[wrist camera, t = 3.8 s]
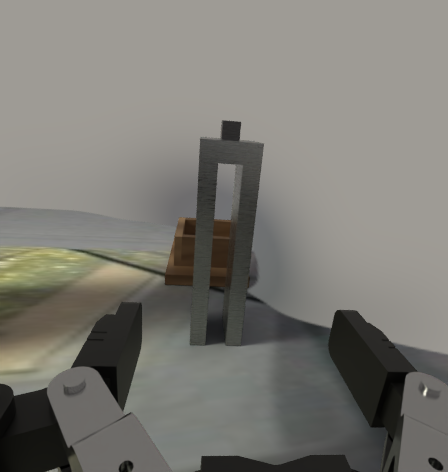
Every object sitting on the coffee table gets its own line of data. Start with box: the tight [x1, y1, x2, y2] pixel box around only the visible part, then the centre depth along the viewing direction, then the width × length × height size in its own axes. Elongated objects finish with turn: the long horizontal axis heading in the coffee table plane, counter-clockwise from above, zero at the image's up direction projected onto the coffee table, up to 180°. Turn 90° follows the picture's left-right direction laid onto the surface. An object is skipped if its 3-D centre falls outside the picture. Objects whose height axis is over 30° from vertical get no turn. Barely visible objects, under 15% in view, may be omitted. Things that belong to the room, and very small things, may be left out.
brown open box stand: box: [165, 217, 250, 288], centre depth 38 cm, size 12×9×5 cm
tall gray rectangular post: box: [190, 121, 264, 346], centre depth 23 cm, size 4×4×17 cm
